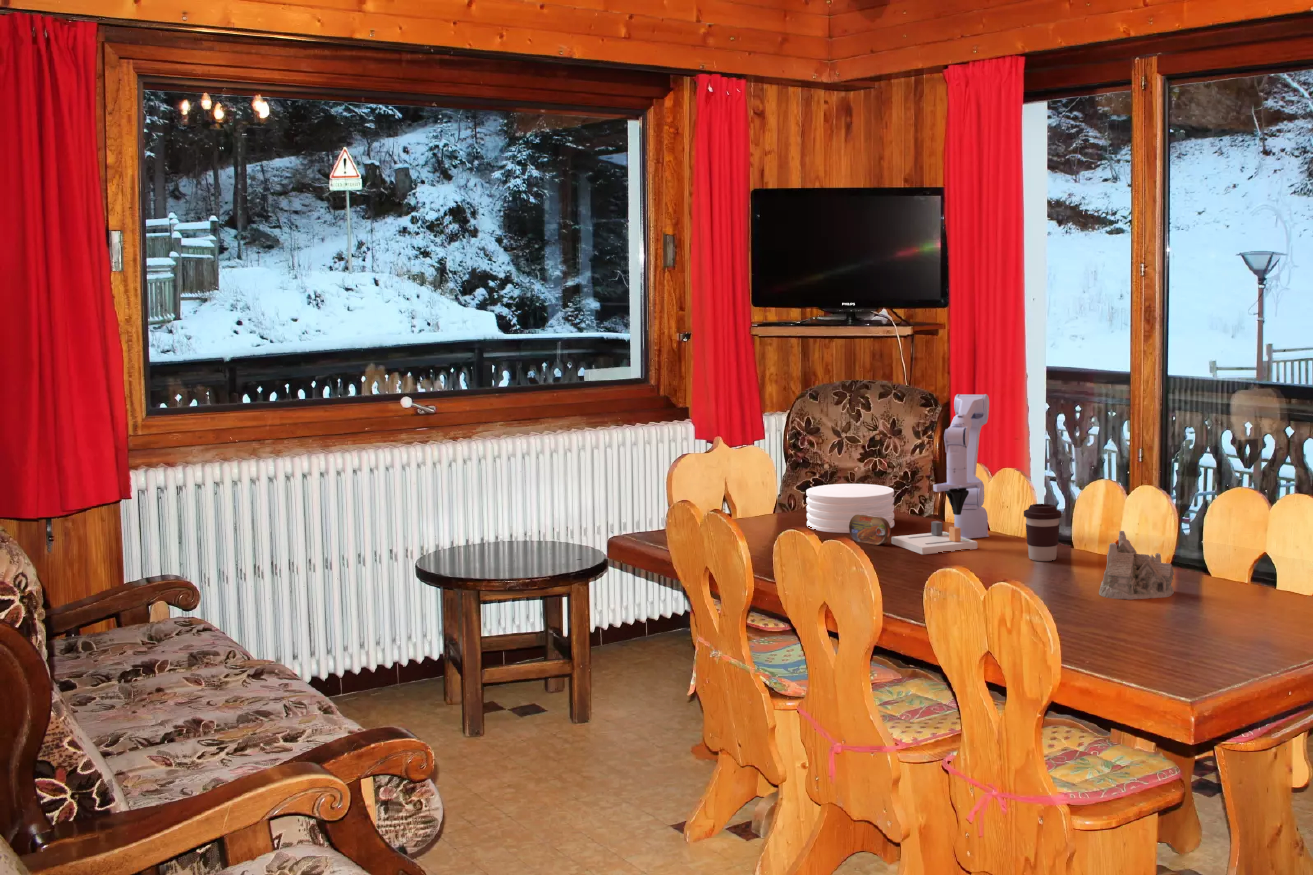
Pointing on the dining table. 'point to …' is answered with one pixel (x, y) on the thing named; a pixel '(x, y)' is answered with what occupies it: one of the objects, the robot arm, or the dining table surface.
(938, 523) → the gray rectangular block
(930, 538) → the board
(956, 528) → the switch
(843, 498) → the plate stack
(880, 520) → the tin
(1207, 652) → the dining table surface
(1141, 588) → the ceramic cottage
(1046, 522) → the coffee cup
